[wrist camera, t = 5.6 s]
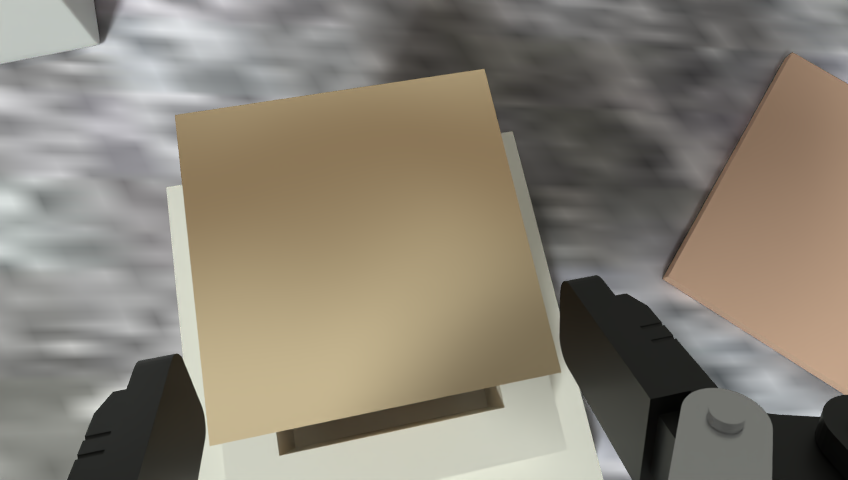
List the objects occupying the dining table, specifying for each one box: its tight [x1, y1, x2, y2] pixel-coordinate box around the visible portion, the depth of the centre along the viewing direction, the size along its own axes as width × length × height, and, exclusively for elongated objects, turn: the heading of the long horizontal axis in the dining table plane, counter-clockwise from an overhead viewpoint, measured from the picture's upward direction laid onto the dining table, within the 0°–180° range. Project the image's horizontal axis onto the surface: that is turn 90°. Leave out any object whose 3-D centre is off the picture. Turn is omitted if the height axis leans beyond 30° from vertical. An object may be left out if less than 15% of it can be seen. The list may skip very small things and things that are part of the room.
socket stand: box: [166, 131, 603, 480], centre depth 20 cm, size 13×13×4 cm
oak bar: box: [175, 69, 561, 446], centre depth 15 cm, size 5×5×12 cm
